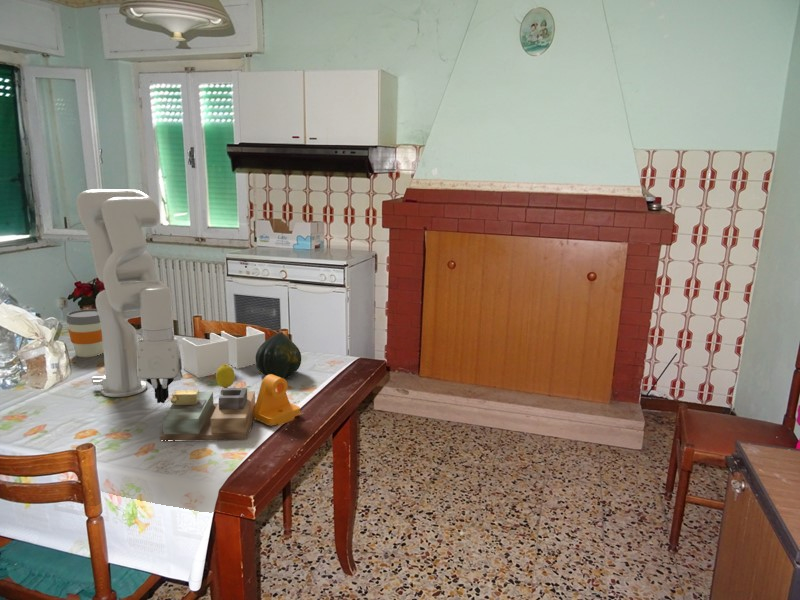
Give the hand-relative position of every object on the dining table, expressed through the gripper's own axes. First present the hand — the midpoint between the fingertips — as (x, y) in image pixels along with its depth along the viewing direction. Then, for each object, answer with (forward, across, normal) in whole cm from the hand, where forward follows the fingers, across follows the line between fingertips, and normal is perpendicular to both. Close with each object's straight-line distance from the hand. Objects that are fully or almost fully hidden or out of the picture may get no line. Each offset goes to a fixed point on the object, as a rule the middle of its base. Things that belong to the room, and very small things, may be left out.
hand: (162, 400), depth 148 cm
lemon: (+7, +11, +25) cm, 29 cm away
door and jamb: (+7, +13, 0) cm, 14 cm away
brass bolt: (+1, +6, -1) cm, 6 cm away
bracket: (+7, +30, +3) cm, 30 cm away
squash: (+7, +26, +37) cm, 46 cm away
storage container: (+7, +7, +47) cm, 48 cm away
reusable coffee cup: (+7, -43, +61) cm, 75 cm away
